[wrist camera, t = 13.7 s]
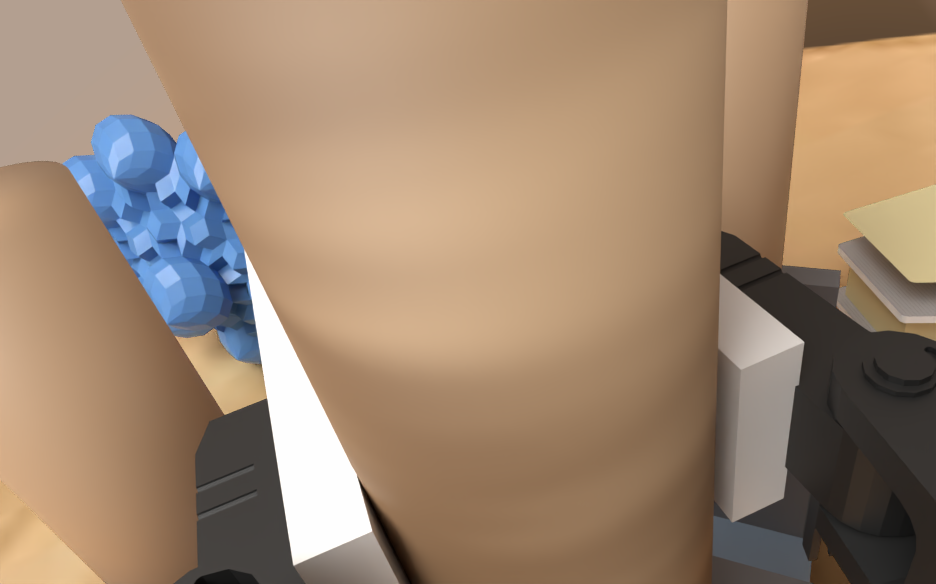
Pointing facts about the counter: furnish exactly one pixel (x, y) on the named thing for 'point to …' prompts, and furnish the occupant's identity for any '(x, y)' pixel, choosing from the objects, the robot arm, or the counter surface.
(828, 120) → the counter surface
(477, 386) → the loose leg
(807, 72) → the counter surface
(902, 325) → the tiered building model
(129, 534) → the stool
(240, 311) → the grapes
